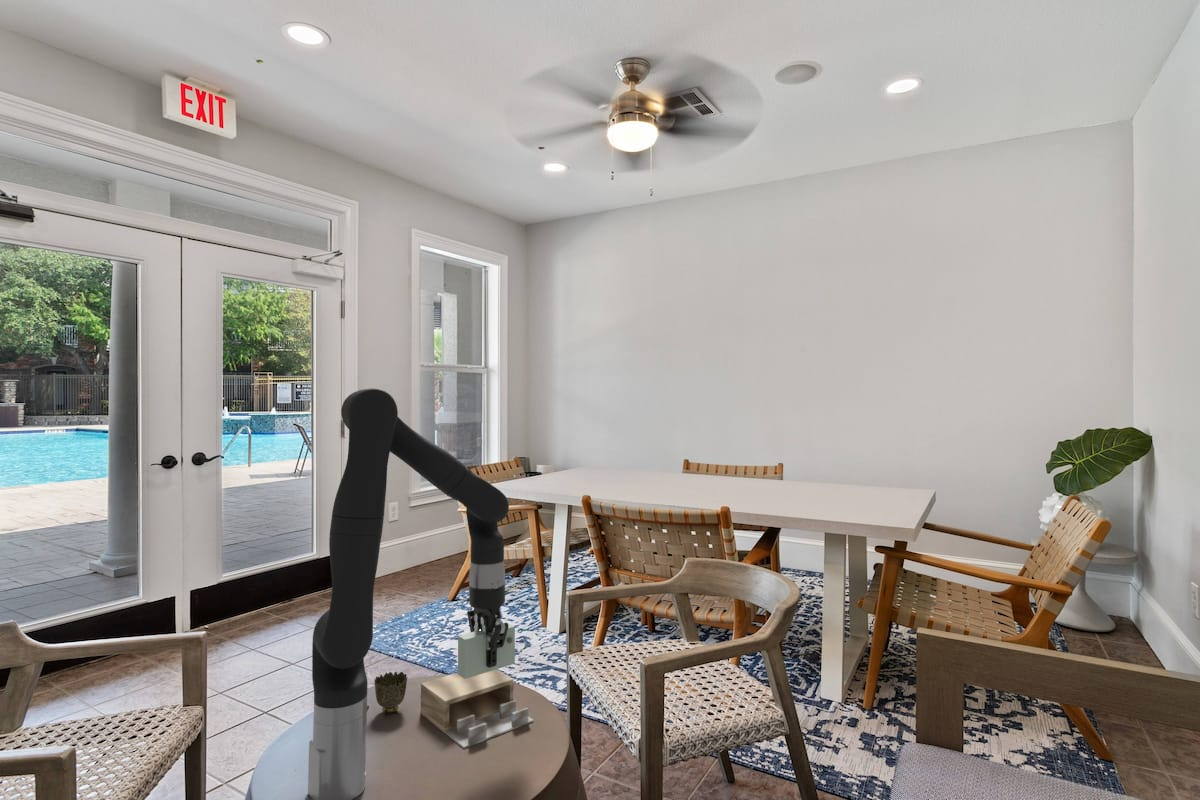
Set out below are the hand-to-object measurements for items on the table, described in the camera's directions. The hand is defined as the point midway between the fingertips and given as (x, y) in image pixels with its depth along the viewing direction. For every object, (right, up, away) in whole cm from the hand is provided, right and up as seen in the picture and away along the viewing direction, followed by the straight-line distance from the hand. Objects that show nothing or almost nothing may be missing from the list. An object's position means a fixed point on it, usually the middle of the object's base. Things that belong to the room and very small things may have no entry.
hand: (487, 663), depth 131 cm
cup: (-26, -18, +15) cm, 35 cm away
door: (0, -1, 0) cm, 1 cm away
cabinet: (-5, -18, +12) cm, 22 cm away
